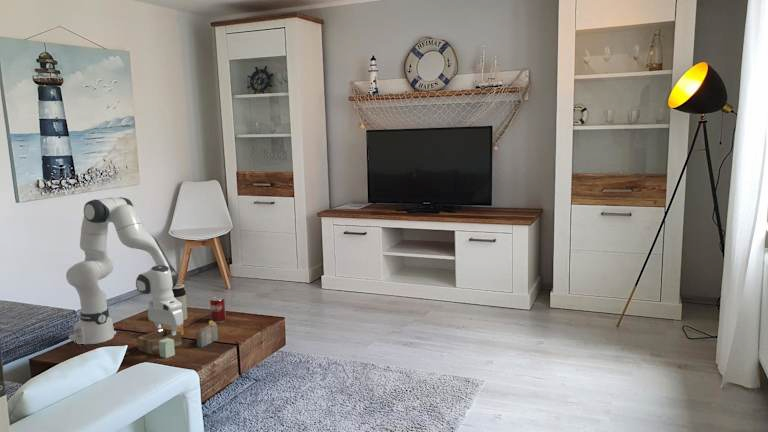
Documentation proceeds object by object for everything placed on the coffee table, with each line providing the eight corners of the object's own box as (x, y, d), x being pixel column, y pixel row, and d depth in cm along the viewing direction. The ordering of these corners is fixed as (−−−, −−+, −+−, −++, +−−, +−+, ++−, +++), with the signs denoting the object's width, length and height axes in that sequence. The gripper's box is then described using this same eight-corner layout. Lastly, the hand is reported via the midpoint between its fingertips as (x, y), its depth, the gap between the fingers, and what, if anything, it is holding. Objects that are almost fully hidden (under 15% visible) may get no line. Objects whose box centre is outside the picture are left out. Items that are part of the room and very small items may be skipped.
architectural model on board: (212, 339, 278) (211, 319, 277) (217, 339, 277) (216, 320, 276) (196, 347, 268) (194, 327, 267) (201, 348, 267) (200, 327, 265)
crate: (138, 350, 265) (137, 337, 264) (167, 339, 278) (166, 327, 277) (153, 354, 259) (152, 341, 258) (181, 344, 272) (180, 331, 271)
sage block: (159, 356, 258) (158, 340, 257) (168, 352, 261) (167, 337, 260) (166, 358, 255) (164, 342, 254) (175, 354, 259) (173, 339, 258)
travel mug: (190, 317, 310) (188, 284, 307) (182, 322, 302) (179, 288, 299) (177, 316, 311) (174, 283, 309) (168, 321, 304) (165, 287, 301)
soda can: (221, 323, 298) (219, 301, 297) (208, 322, 300) (207, 300, 299) (228, 319, 305) (227, 296, 303) (216, 318, 307) (214, 296, 306)
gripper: (142, 301, 258) (146, 331, 260) (172, 308, 247) (175, 339, 249) (155, 297, 263) (158, 327, 265) (184, 304, 252) (187, 334, 254)
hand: (166, 333), depth 257 cm, fingers open, 8 cm apart
